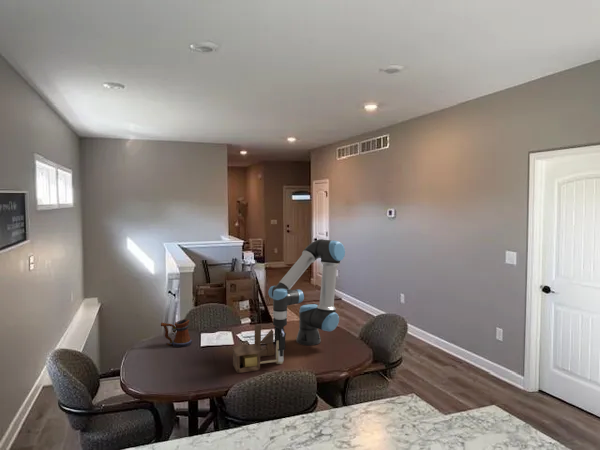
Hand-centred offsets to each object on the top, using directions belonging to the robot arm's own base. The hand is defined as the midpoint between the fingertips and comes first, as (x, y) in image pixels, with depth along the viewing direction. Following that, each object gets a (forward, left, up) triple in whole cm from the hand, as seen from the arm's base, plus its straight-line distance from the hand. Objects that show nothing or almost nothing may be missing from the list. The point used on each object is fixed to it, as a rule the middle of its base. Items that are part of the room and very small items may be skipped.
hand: (279, 360), depth 231 cm
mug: (+51, -48, -2) cm, 70 cm away
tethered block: (+9, 0, -2) cm, 9 cm away
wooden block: (+5, -13, -2) cm, 15 cm away
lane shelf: (+18, 0, -2) cm, 19 cm away
